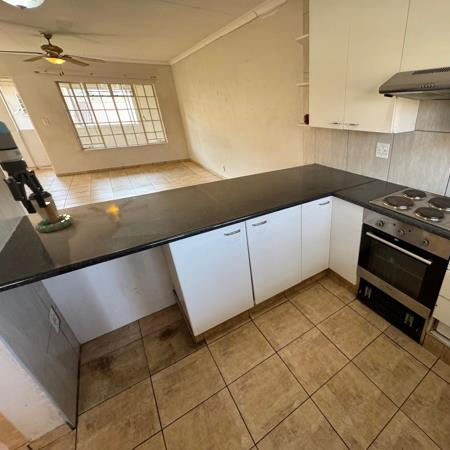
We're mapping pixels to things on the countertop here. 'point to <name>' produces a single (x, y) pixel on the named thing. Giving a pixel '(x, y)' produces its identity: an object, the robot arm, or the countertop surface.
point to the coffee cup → (47, 199)
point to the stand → (51, 214)
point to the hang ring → (45, 227)
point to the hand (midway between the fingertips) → (38, 210)
